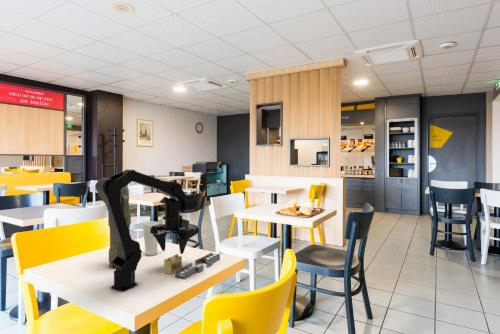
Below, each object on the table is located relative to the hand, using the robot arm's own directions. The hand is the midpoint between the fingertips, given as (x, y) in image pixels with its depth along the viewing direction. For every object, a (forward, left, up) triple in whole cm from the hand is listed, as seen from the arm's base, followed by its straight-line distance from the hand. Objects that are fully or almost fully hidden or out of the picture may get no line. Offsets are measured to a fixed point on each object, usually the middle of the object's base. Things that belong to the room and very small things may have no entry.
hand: (172, 252), depth 123 cm
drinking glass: (+13, +24, -8) cm, 28 cm away
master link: (0, 0, -8) cm, 8 cm away
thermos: (-4, +25, -8) cm, 26 cm away
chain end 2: (+15, -7, -8) cm, 19 cm away
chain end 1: (+1, -7, -8) cm, 11 cm away
